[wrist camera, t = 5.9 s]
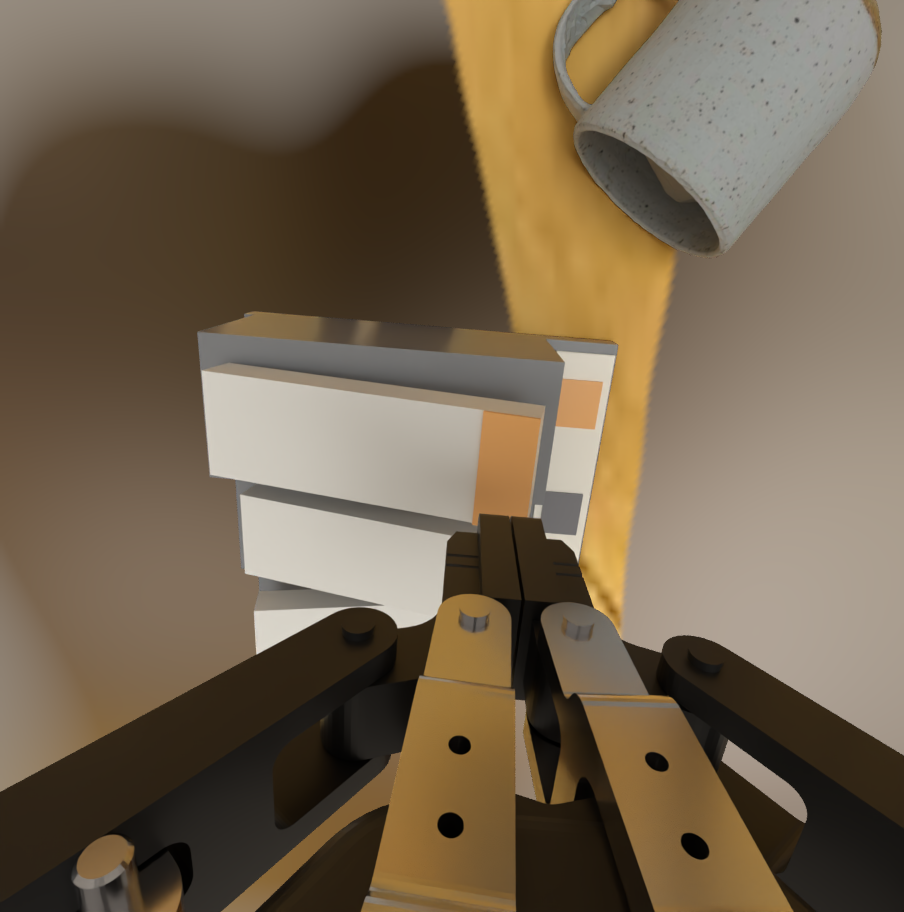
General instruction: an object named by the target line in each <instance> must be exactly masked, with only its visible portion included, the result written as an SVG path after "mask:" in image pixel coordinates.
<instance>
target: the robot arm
mask: <svg viewBox="0 0 904 912" xmlns="http://www.w3.org/2000/svg"><path fill="white" fill-rule="evenodd" d="M578 565H579V564H578V561H577V558H576V556H575V553H574V551H573V550H572V549H571V548H570V547H569V546H567V545H566V544H565V543H564V542H563V541H562V540H555V539H547V538H546V535H545V531H544V527H543V524H542V520H541V518H529V517H517V516H511V517H510V519H509V516H504V515H493V514H481V513H479V517H478V525H477V533H471V532H459V531H456V532H455V533H454V534H453V535H452V536H451V538H450V539H449V540H448V541H447V547H446V559H445V571H444V583H443V595H442V604H441V605H440V606H439V609H438V612H437V614H436V615H435V616H434V617H433V618H432V619H430V620H428V621H427V622H424V623H422V624H419V625H416V626H411V627H404V628H397V624H396V623H395V621H394V620H393V619H392V618H391V617H390V616H389V615H388V614H386V613H384V612H382V611H380V610H377V609H373V608H366V607H354V608H347V609H343V610H340V611H337V612H335V613H333V614H331V615H329V616H327V617H326V618H324V619H322V620H320V621H318V622H316V623H314V624H312V625H311V626H309V627H307V628H305V629H303V630H301V631H299V632H298V633H296V634H294V635H292V636H290V637H288V638H286V639H284V640H283V641H281V642H279V643H277V644H275V645H273V646H271V647H270V648H268V649H266V650H264V651H262V652H260V653H258V654H257V655H255V656H253V657H251V658H249V659H247V660H246V661H243V662H242V663H240V664H238V665H236V666H234V667H232V668H231V669H229V670H227V671H225V672H223V673H221V674H219V675H217V676H216V677H214V678H212V679H210V680H208V681H206V682H204V683H202V684H201V685H199V686H197V687H195V688H193V689H191V690H189V691H188V692H186V693H184V694H182V695H180V696H178V697H176V698H175V699H173V700H171V701H169V702H167V703H165V704H163V705H161V706H160V707H158V708H156V709H154V710H152V711H150V712H149V713H147V714H145V715H143V716H141V717H139V718H137V719H136V720H134V721H132V722H130V723H128V724H126V725H124V726H122V727H121V728H119V729H117V730H115V731H113V732H111V733H110V734H108V735H106V736H104V737H102V738H100V739H98V740H96V741H95V742H92V743H91V744H89V745H87V746H85V747H84V748H81V749H80V750H78V751H76V752H74V753H72V754H70V755H68V756H66V757H65V758H63V759H61V760H59V761H57V762H55V763H53V764H51V765H50V766H48V767H46V768H44V769H42V770H40V771H38V772H37V773H35V774H33V775H31V776H29V777H27V778H26V779H24V780H22V781H20V782H18V783H16V784H14V785H13V786H10V787H9V788H7V789H5V790H3V791H1V792H0V912H221V911H222V910H223V909H224V908H226V907H227V906H228V905H229V904H230V903H231V902H232V901H234V900H235V899H236V898H237V897H238V896H239V895H240V894H242V893H243V892H244V891H245V890H246V889H247V888H248V887H250V886H251V885H252V884H253V883H254V882H255V881H256V880H258V879H259V878H260V877H261V876H262V875H263V874H264V873H266V872H267V871H268V870H269V869H270V868H271V867H273V866H274V865H275V864H276V863H277V862H278V861H279V860H281V859H282V858H283V857H284V856H285V855H286V854H287V853H289V852H290V851H291V850H292V849H293V848H294V847H295V846H296V845H298V844H299V843H300V842H301V841H302V840H303V839H305V838H306V837H307V836H308V835H309V834H310V833H312V832H313V831H314V830H315V829H316V828H317V827H318V826H320V825H321V824H322V823H323V822H324V821H325V820H326V819H328V818H329V817H330V816H331V815H332V814H333V813H334V812H336V811H337V810H338V809H339V808H340V807H341V806H342V805H344V804H345V803H346V802H347V801H348V800H349V799H350V798H352V796H354V795H355V794H356V793H357V792H358V791H360V790H361V789H362V788H363V787H364V786H365V785H366V784H367V783H369V782H370V781H371V780H372V779H373V778H375V777H376V776H377V775H378V774H379V773H380V772H381V771H382V770H383V769H384V768H385V767H386V765H387V764H388V762H389V760H390V757H391V754H394V753H399V752H401V756H400V761H399V765H398V769H397V774H396V779H395V783H394V787H393V791H392V796H391V800H390V804H389V805H386V806H382V807H380V808H378V809H375V810H373V811H371V812H368V813H366V814H364V815H363V816H361V817H359V818H358V819H356V820H354V821H352V822H351V823H350V824H348V825H347V826H346V827H344V828H343V829H342V830H340V831H339V832H338V833H336V834H335V835H334V836H333V837H332V838H331V839H330V840H328V841H327V842H326V843H325V844H324V845H323V846H322V847H321V848H320V849H319V850H318V851H317V852H316V853H315V854H314V855H313V856H312V857H311V858H310V859H309V860H308V861H307V862H306V863H305V864H304V865H303V866H302V867H300V868H299V870H297V872H295V873H294V874H293V875H292V876H291V877H290V878H289V879H288V880H287V881H286V882H285V883H284V884H283V885H282V886H281V887H280V888H279V889H278V890H277V891H276V892H275V893H274V894H273V895H272V896H271V897H270V898H269V899H268V900H267V901H266V902H264V903H263V904H262V905H261V906H260V907H259V908H258V909H257V910H256V911H255V912H904V756H903V755H902V754H900V753H899V752H897V751H895V750H894V749H892V748H890V747H889V746H887V745H885V744H883V743H882V742H880V741H879V740H877V739H875V738H874V737H872V736H870V735H869V734H867V733H865V732H864V731H862V730H861V729H859V728H857V727H856V726H854V725H852V724H851V723H849V722H847V721H846V720H844V719H842V718H840V717H839V716H837V715H836V714H834V713H832V712H830V711H829V710H827V709H826V708H824V707H822V706H821V705H819V704H817V703H816V702H814V701H813V700H811V699H809V698H808V697H806V696H804V695H803V694H801V693H799V692H798V691H796V690H794V689H793V688H791V687H789V686H788V685H786V684H784V683H783V682H781V681H779V680H778V679H776V678H774V677H773V676H771V675H769V674H768V673H766V672H764V671H763V670H761V669H760V668H758V667H756V666H754V665H753V664H751V663H750V662H748V661H746V660H744V659H743V658H741V657H740V656H738V655H736V654H734V653H733V652H731V651H730V650H728V649H726V648H725V647H723V646H721V645H719V644H717V643H715V642H713V641H710V640H707V639H704V638H700V637H695V636H685V635H683V636H676V637H672V638H670V639H668V640H667V641H666V642H665V643H664V646H663V649H662V653H659V652H656V651H653V650H649V649H646V648H642V647H638V646H635V645H633V644H630V643H628V642H625V641H623V640H621V638H620V636H619V634H618V632H617V630H616V628H615V626H614V625H613V623H612V622H611V620H610V619H609V618H608V617H607V616H605V615H604V614H603V613H601V612H600V611H598V610H596V609H594V607H593V604H592V601H591V598H590V595H589V593H588V590H587V587H586V584H585V581H584V578H583V577H582V573H581V570H580V567H578ZM515 699H516V700H525V704H526V714H525V721H524V727H523V737H524V742H525V747H526V752H527V756H528V761H529V767H530V772H531V777H532V782H533V787H534V792H535V797H536V800H532V799H529V798H526V797H523V796H520V795H517V794H515ZM728 740H730V741H731V742H732V743H734V744H735V745H737V746H738V747H739V748H741V749H742V750H743V751H745V752H747V753H748V754H749V755H751V756H752V757H753V758H754V759H756V760H757V761H758V762H760V763H761V764H763V765H764V766H765V767H767V768H768V769H769V770H771V771H772V772H774V773H775V774H776V775H778V776H779V777H780V778H782V779H783V780H785V781H786V782H787V783H789V784H790V785H791V786H792V787H793V788H794V789H795V790H796V791H797V792H798V793H799V795H800V796H801V798H802V799H803V801H804V803H805V806H806V809H807V821H806V823H803V822H802V821H800V820H798V819H797V818H795V817H794V816H793V815H791V814H790V813H788V812H787V811H786V810H785V809H783V808H782V807H781V806H779V805H778V804H777V803H776V802H774V801H773V800H772V799H770V798H769V797H768V796H766V795H765V794H764V793H763V792H761V791H760V790H759V789H757V788H756V787H755V786H753V785H752V784H751V783H750V782H748V781H747V780H746V779H744V778H743V777H742V776H740V775H739V774H738V773H736V772H735V771H734V770H733V769H731V768H730V767H729V766H727V765H726V764H724V763H723V762H722V761H721V760H722V757H723V754H724V751H725V748H726V745H727V742H728Z"/></svg>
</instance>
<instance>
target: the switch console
mask: <svg viewBox="0 0 904 912" xmlns="http://www.w3.org/2000/svg"><path fill="white" fill-rule="evenodd" d="M197 334H198V345H199V357H200V369H201V370H205V369H208V368H212V367H216V366H219V365H223V364H226V363H235V364H242V365H249V366H257V367H264V368H271V369H279V370H286V371H293V372H301V373H308V374H315V375H323V376H330V377H337V378H345V379H352V380H359V381H367V382H374V383H381V384H389V385H396V386H403V387H411V388H418V389H425V390H433V391H440V392H447V393H455V394H462V395H469V396H477V397H484V398H491V399H499V400H506V401H513V402H521V403H528V404H535V405H543V406H545V413H544V420H543V427H542V434H541V441H540V448H539V455H538V463H537V470H536V477H535V484H534V491H533V498H532V505H531V512H530V516H529V518H541V520H542V524H543V527H544V531H545V535H546V538H547V539H555V540H562V541H563V542H564V543H565V544H566V545H567V546H569V547H570V548H571V549H572V550H573V551H574V553H575V556H576V558H577V561H578V564H579V558H580V553H581V547H582V542H583V536H584V531H585V525H586V520H587V515H588V509H589V504H590V498H591V493H592V487H593V482H594V476H595V471H596V465H597V460H598V454H599V449H600V443H601V438H602V432H603V427H604V421H605V416H606V410H607V405H608V399H609V394H610V388H611V383H612V377H613V372H614V366H615V361H616V355H617V350H618V344H616V343H615V342H613V341H606V340H594V339H582V338H570V337H558V336H546V335H534V334H521V333H509V332H497V331H485V330H473V329H461V328H448V327H437V326H425V325H413V324H401V323H389V322H376V321H365V320H353V319H341V318H340V319H339V318H328V317H316V316H303V315H292V314H280V313H268V312H255V311H253V312H249V313H246V314H244V318H242V319H239V320H235V321H232V322H229V323H226V324H222V325H219V326H215V327H212V328H209V329H205V330H202V331H199V332H197ZM201 380H202V371H201ZM202 393H203V383H202ZM203 404H204V395H203ZM204 415H205V407H204ZM205 427H206V419H205ZM206 440H207V431H206ZM207 452H208V443H207ZM208 463H209V454H208ZM209 474H210V466H209ZM210 477H215V478H225V477H220V476H214V475H210ZM226 479H231V478H226ZM235 481H236V496H237V508H238V509H237V511H238V526H239V541H240V555H241V568H243V569H245V563H244V548H243V532H242V517H241V501H240V494H242V493H243V492H245V491H246V490H248V489H250V488H251V487H253V486H254V485H256V484H257V483H252V482H247V481H242V480H236V479H235ZM307 589H311V588H307V587H302V586H298V585H294V584H289V583H285V582H280V581H276V580H272V579H267V578H263V577H259V591H279V590H307Z"/></svg>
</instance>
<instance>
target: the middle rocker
mask: <svg viewBox="0 0 904 912" xmlns="http://www.w3.org/2000/svg"><path fill="white" fill-rule="evenodd" d="M240 501H241V517H242V532H243V548H244V563H245V573H246V574H250V575H254V576H258V577H263V578H267V579H272V580H276V581H280V582H285V583H289V584H294V585H298V586H302V587H307V588H311V589H315V590H320V591H324V592H329V593H333V594H337V595H342V596H346V597H350V598H355V599H359V600H364V601H368V602H372V603H377V604H381V605H386V606H390V607H394V608H399V609H403V610H407V611H412V612H416V613H421V614H425V615H429V616H435V615H436V614H437V612H438V609H439V606H440V605H441V604H442V595H443V583H444V571H445V559H446V547H447V541H448V540H449V539H450V538H451V536H452V535H453V534H454V533H455V532H456V531H459V532H471V533H477V526H476V525H472V523H471V522H465V521H460V520H454V519H449V518H443V517H438V516H433V515H427V514H422V513H416V512H411V511H405V510H400V509H394V508H389V507H383V506H378V505H373V504H367V503H362V502H356V501H351V500H345V499H340V498H334V497H329V496H323V495H318V494H313V493H307V492H302V491H296V490H291V489H285V488H280V487H274V486H269V485H263V484H258V483H257V484H256V485H254V486H253V487H251V488H250V489H248V490H246V491H245V492H243V493H242V494H240Z"/></svg>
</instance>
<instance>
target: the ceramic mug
mask: <svg viewBox="0 0 904 912" xmlns="http://www.w3.org/2000/svg"><path fill="white" fill-rule="evenodd" d="M616 1H617V0H572V1H571V3H570V4H569V6H568V7H567V9H566V10H565V12H564V14H563V15H562V17H561V19H560V21H559V23H558V26H557V29H556V33H555V37H554V42H553V63H554V70H555V74H556V79H557V83H558V87H559V90H560V93H561V96H562V99H563V100H564V102H565V104H566V106H567V108H568V109H569V111H570V112H571V113H572V115H573V116H574V118H575V119H576V121H577V124H576V125H575V128H574V133H573V139H574V146H575V148H576V151H577V153H578V155H579V157H580V159H581V161H582V163H583V165H584V166H585V167H586V169H587V171H588V172H589V174H590V175H591V177H592V178H593V179H594V181H595V182H596V184H598V185H599V186H600V187H601V188H602V189H603V190H604V191H605V193H606V194H607V195H608V196H609V197H610V198H611V200H612V201H613V202H614V203H615V204H616V205H617V206H618V207H619V208H620V209H621V210H623V211H624V212H625V213H626V214H627V215H628V216H629V217H630V218H631V219H632V220H633V221H634V222H636V223H638V224H639V225H640V226H641V227H642V228H644V229H645V230H647V231H648V232H650V233H651V234H653V235H654V236H655V237H657V238H658V239H660V240H661V241H663V242H665V243H666V244H668V245H670V246H671V247H673V248H675V249H676V250H679V251H683V252H686V253H688V254H690V255H694V256H699V257H704V258H715V257H718V256H720V255H722V254H724V253H725V252H727V251H728V250H729V249H730V248H731V247H732V245H733V244H734V243H735V242H736V241H737V239H738V238H739V237H740V236H741V234H742V233H743V232H744V231H745V230H746V229H747V227H748V226H749V225H750V224H751V223H752V222H753V220H754V219H755V218H756V217H757V216H758V214H759V213H760V212H761V211H762V210H763V209H764V208H765V207H766V205H767V204H768V203H769V202H770V201H771V199H772V198H773V197H774V196H775V195H776V194H777V193H778V192H779V190H780V189H781V188H782V187H783V185H784V184H785V183H786V182H787V181H788V179H789V178H790V177H791V176H792V175H793V174H794V172H795V171H796V170H797V169H798V167H799V166H800V165H801V164H802V162H803V161H804V160H805V159H806V158H807V157H808V156H809V154H810V153H811V152H812V151H813V150H814V149H815V148H816V147H817V146H818V145H819V143H820V142H821V141H822V140H823V139H824V138H825V137H826V135H827V134H828V133H829V132H830V131H831V130H832V128H833V127H834V126H835V125H836V124H837V122H838V121H839V120H840V119H841V117H842V116H843V115H844V114H845V113H846V111H847V110H848V109H849V108H850V106H851V105H852V103H853V102H854V101H855V99H856V98H857V96H858V94H859V93H860V91H861V89H862V88H863V86H864V85H865V83H866V82H867V80H868V79H869V76H870V75H871V73H872V71H873V69H874V67H875V65H876V62H877V59H878V55H879V51H880V47H881V33H882V30H881V23H880V16H879V10H878V5H877V2H876V0H678V2H677V4H676V5H675V6H674V7H673V9H672V10H671V11H670V13H669V14H668V15H667V17H666V18H665V19H664V20H663V22H662V23H661V24H660V25H659V27H658V28H657V29H656V30H655V31H654V33H653V34H652V35H651V36H650V38H649V39H648V40H647V41H646V42H645V43H644V44H643V45H642V47H641V48H640V49H639V50H638V51H637V52H636V53H635V54H634V56H633V57H632V58H631V59H630V60H629V61H628V62H627V64H626V65H625V66H624V67H623V68H622V69H621V71H620V72H619V73H618V74H617V76H616V77H615V78H614V79H613V80H612V82H611V83H610V84H609V85H608V86H607V88H606V89H605V90H604V91H603V92H602V94H601V95H600V96H599V97H598V98H597V100H596V101H595V102H594V103H593V104H588V103H586V102H585V101H583V99H582V98H581V97H580V96H579V95H578V93H577V90H576V89H575V88H574V86H573V84H572V82H571V80H570V78H569V76H568V74H567V70H566V60H567V58H568V56H569V55H570V51H571V48H572V47H573V46H574V44H575V43H576V42H577V40H578V39H579V38H580V37H581V36H582V35H583V34H584V33H585V31H586V30H587V29H588V28H589V27H590V26H591V25H592V23H593V22H594V21H595V20H596V19H597V18H598V17H599V16H600V15H601V14H602V13H603V12H604V11H606V10H608V9H610V8H612V7H613V6H614V4H615V2H616Z"/></svg>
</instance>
